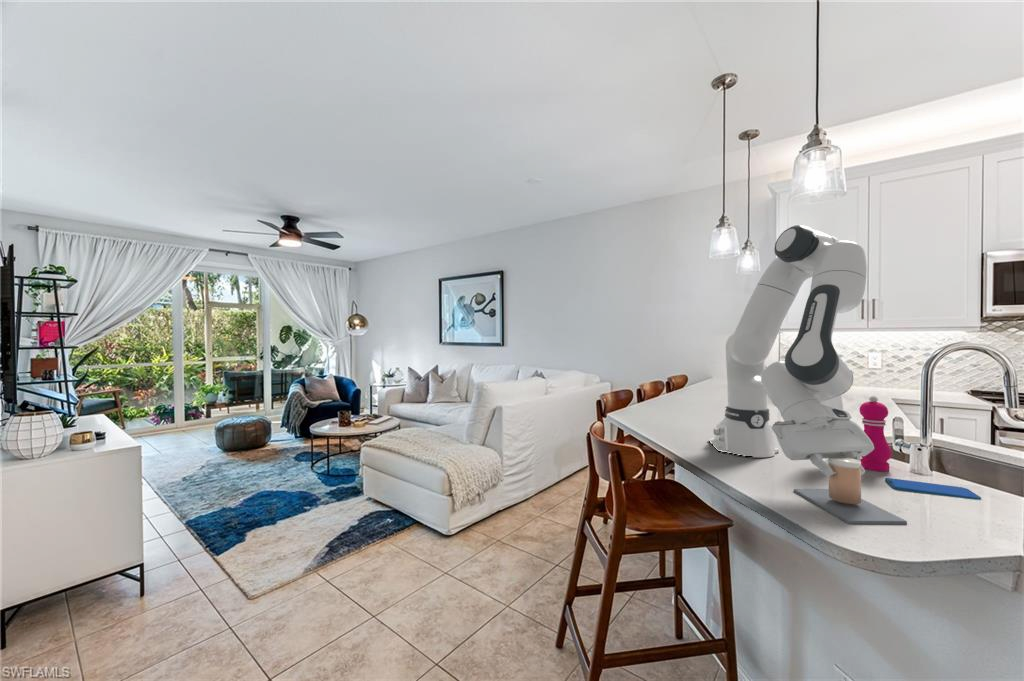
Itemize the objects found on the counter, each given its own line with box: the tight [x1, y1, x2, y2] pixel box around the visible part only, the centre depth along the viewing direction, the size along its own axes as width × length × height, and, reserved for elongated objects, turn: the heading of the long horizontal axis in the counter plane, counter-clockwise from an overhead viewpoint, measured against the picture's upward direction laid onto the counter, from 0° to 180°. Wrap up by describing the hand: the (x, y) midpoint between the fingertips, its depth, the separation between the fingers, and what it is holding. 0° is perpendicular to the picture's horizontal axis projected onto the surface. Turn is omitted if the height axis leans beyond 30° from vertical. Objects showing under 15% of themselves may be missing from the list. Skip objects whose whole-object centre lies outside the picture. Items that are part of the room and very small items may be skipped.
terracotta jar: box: [828, 456, 862, 504], centre depth 89 cm, size 6×6×8 cm
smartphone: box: [884, 477, 982, 500], centre depth 97 cm, size 7×1×15 cm
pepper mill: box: [859, 395, 893, 472], centre depth 113 cm, size 7×7×20 cm
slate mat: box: [793, 488, 908, 525], centre depth 89 cm, size 17×11×1 cm, turn 177°
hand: (846, 474), depth 88 cm, fingers closed on terracotta jar, 5 cm apart
